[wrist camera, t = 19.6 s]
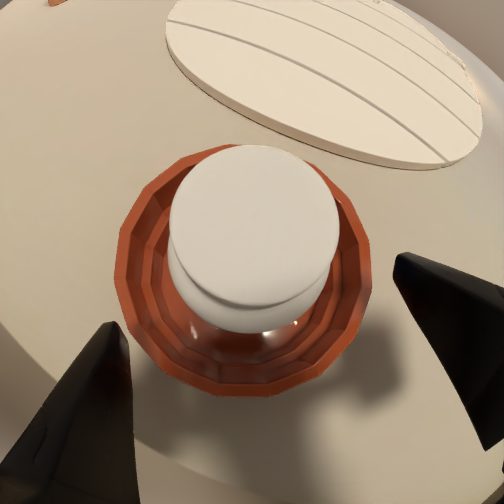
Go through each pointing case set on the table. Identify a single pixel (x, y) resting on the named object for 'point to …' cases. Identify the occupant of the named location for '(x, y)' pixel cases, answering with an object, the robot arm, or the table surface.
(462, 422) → the table surface
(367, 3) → the round slatted board
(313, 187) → the pill bottle
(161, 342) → the bowl
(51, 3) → the salt shaker
